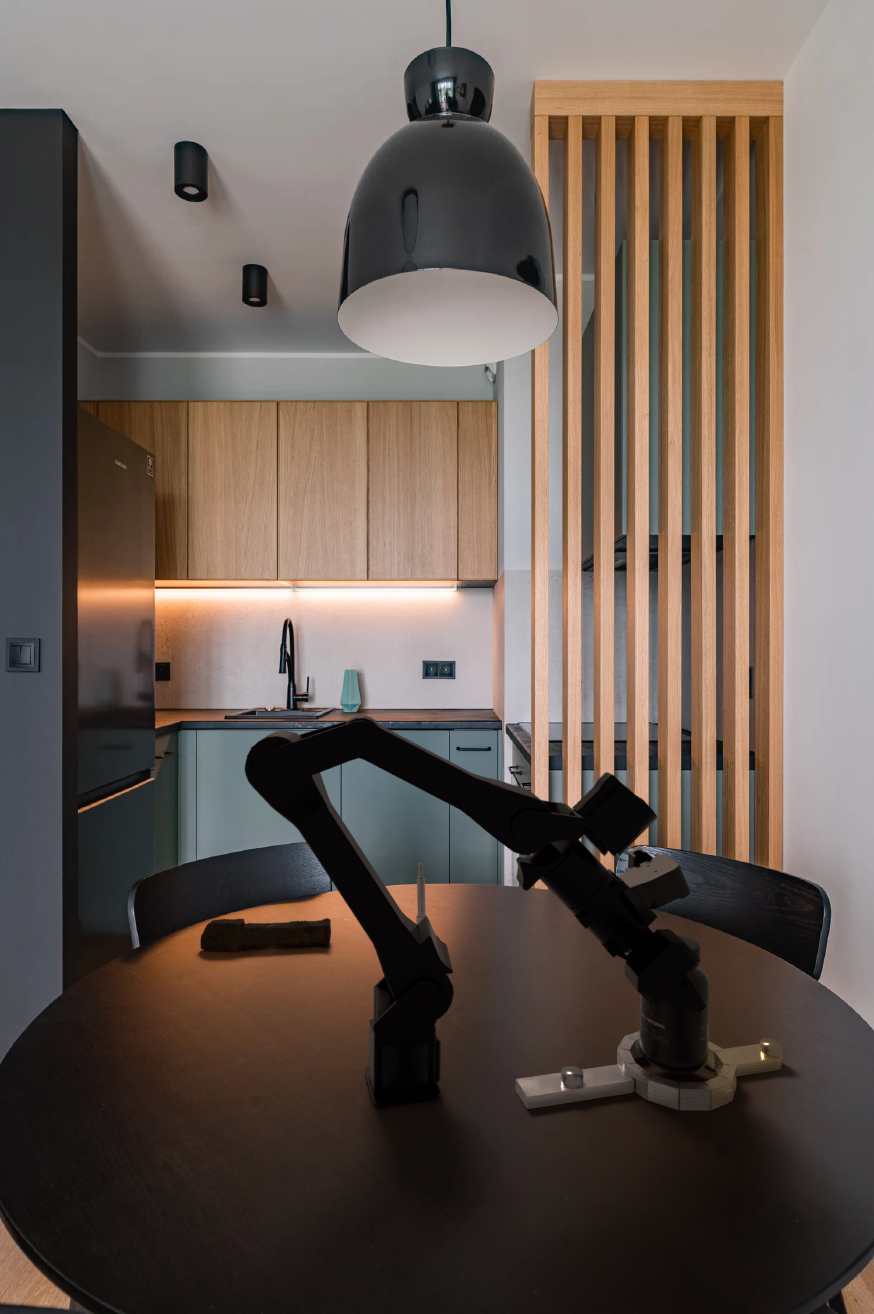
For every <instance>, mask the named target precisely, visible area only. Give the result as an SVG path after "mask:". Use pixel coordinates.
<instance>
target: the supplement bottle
mask: <svg viewBox="0 0 874 1314" xmlns="http://www.w3.org/2000/svg"><path fill="white" fill-rule="evenodd" d="M676 935H677V936H678V937H679V938H680V939H681V940H683V941H684V942H685V943H686V944H687V945H688V946H689V947H690V949H691V950H692V951H693V952H694V953H695V954H696V955H697V956H698V959H697V964H696V965H695V966H694V967H693V968H692V969H691V970H690V971H689V972H688V975H689V977H690V978H691V980H692V982H693V984H694V985H695V987H696V989H697V990H698V992H699V994H700V996H701V997H702V999H703V1001H704V1002H705V1004H706V1008H705V1009H704V1010H703V1011H702V1012H701V1013H696V1012H693V1011H690V1010H688V1009H685V1008H682V1007H680V1006H677V1005H674V1004H671V1003H668V1002H665V1001H662V1000H661V1001H660V1002H659V1003H658V1004H653V1005H650V1003H649V1002H648V1001H647V1000H646V999H645V998H644V997H643V996H642V995H641V994H640V993H639V995H640V1003H639V1030H638V1031H639V1047H640V1051H641V1054H642V1055H643V1056H642V1057H643V1058H644V1059H645V1060H646V1061H647V1062H648V1064H651V1065H652V1066H653V1067H656V1068H657V1069H660V1070H663V1071H666V1072H670V1073H674V1074H684V1075H685V1074H686V1075H687V1074H694V1073H697V1072H699V1071H701V1070H703V1069H704V1068H705V1067H706V1063H707V1060H708V1041H709V1033H710V1032H709V1031H710V1028H709V1027H710V992H711V991H710V990H711V988H710V986H711V985H710V984H711V983H710V979H709V976H708V975H707V973H706V972H705V971H704V970H703V969H702V968H701V967H700V966H701V964H702V963H701V962H702V960H701V959H702V958H701V945H700V943H699V942H698V941H696V940H694V939H693V938H691V937H688V936H684V935H681V934H676Z"/></svg>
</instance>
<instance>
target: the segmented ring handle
mask: <svg viewBox="0 0 874 1314" xmlns="http://www.w3.org/2000/svg"><path fill="white" fill-rule="evenodd" d="M639 1031H640V1030H638V1031H635V1032H633V1033H629V1034H627V1035H625V1036H623V1038H622V1040H621V1041H620V1043H619V1045H618V1046H617V1049H616V1050H617V1052H616V1055H617V1058H616V1064H611V1065H604V1066H598V1067H590V1068H585V1069H583V1068H582V1069H581V1068H579V1067H577V1066H574V1065H573V1066H572V1065H567V1066H564V1067H562V1068H561V1069H560V1072H557V1073H556V1072H555V1073H548V1074H543V1075H542V1074H541V1075H536V1076H529V1077H521V1078H515V1092H516V1094H517V1096H518V1097H519V1099H520V1100H521V1103H522V1104H523V1106H524V1107H525V1108H526V1109H527V1110H530V1109H536V1108H537V1109H538V1108H544V1107H550V1106H556V1105H562V1104H571V1103H575V1102H581V1101H583V1102H584V1101H588V1100H594V1099H595V1100H596V1099H603V1098H606V1097H607V1098H608V1097H614V1096H620V1095H626V1094H632V1093H636V1094H637V1095H639V1096H641V1098H643V1099H645V1100H646V1101H649V1102H651V1103H654V1104H658V1105H661V1106H665V1107H668V1108H671V1109H674V1110H676V1111H677V1110H679V1111H698V1112H699V1111H701V1110H702V1111H703V1112H704V1111H706V1112H709V1111H711V1110H710V1088H709V1087H707V1086H708V1085H704V1084H703V1083H705V1081H703V1082H699V1081H697V1082H696V1081H695V1082H694V1081H693V1082H692V1081H691V1082H690V1081H676V1080H673V1079H670V1078H666V1077H663V1076H659V1075H656V1074H653V1073H651V1072H650V1071H648V1070H647V1069H645V1068H644V1067H643V1066H641V1065H639V1064H638V1063H637V1062H636V1061H635V1060H636V1059H638V1058H641V1057H643V1055H642V1054H641V1051H640V1047H639ZM708 1110H709V1111H708Z"/></svg>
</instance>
